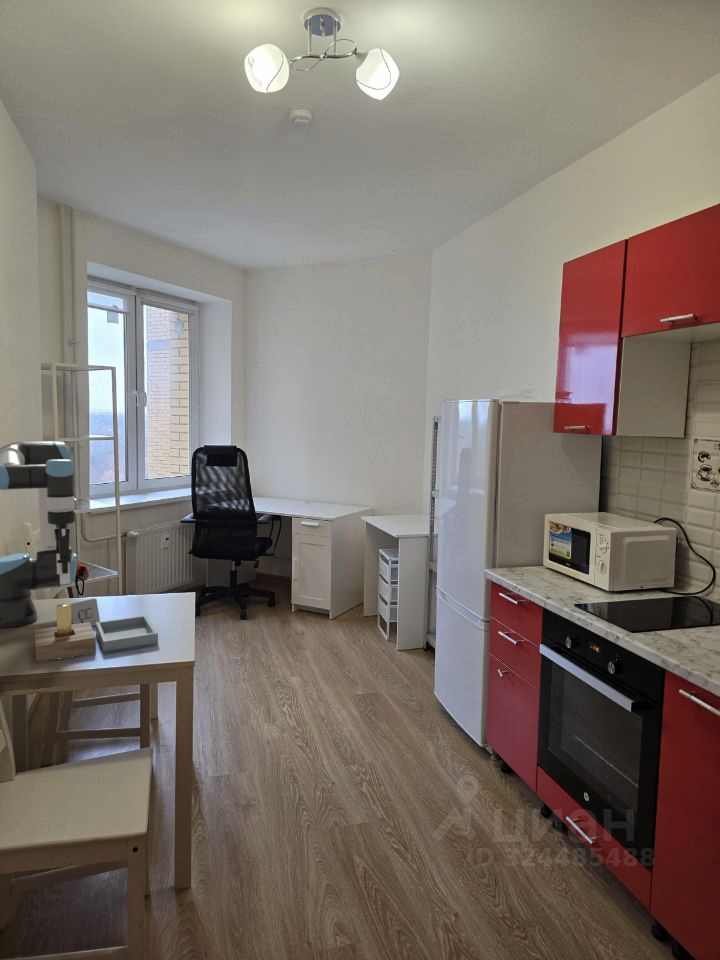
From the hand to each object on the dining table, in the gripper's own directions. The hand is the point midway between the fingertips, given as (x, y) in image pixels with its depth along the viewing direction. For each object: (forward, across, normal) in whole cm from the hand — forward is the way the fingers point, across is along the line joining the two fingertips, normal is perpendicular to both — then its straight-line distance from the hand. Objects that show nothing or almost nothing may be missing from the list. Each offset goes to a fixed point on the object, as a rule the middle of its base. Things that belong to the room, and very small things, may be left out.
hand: (63, 578), depth 183 cm
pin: (+22, 0, 0) cm, 23 cm away
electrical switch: (+23, +20, -7) cm, 31 cm away
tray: (+22, 0, -18) cm, 29 cm away
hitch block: (+22, 0, 0) cm, 23 cm away
